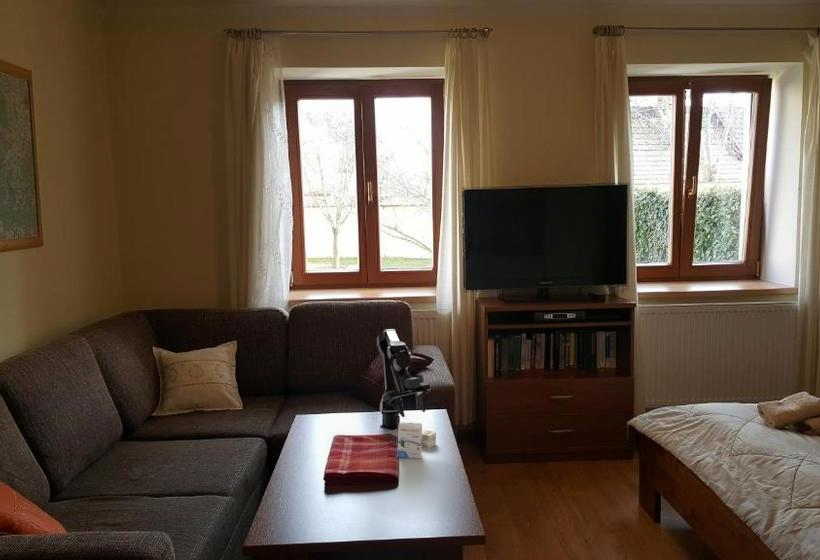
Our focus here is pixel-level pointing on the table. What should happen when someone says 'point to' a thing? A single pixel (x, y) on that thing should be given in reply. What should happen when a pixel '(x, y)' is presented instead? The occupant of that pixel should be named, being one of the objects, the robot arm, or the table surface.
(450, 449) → the table surface
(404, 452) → the ink box
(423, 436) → the birch block
